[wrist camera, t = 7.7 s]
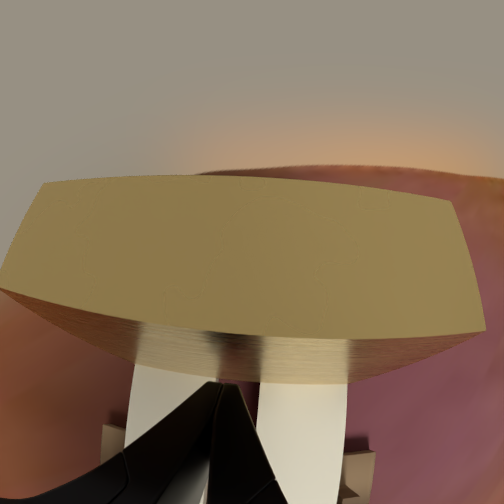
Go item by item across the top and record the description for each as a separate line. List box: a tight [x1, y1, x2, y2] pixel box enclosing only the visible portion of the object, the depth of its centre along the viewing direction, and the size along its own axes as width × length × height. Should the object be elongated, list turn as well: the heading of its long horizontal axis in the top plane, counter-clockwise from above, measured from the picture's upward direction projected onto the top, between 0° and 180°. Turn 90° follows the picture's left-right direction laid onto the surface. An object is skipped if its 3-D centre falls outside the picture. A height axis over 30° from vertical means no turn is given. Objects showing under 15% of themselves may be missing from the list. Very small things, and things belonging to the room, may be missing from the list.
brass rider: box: [0, 175, 486, 385], centre depth 10 cm, size 8×10×10 cm
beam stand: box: [100, 424, 376, 504], centre depth 10 cm, size 6×16×4 cm, turn 85°
